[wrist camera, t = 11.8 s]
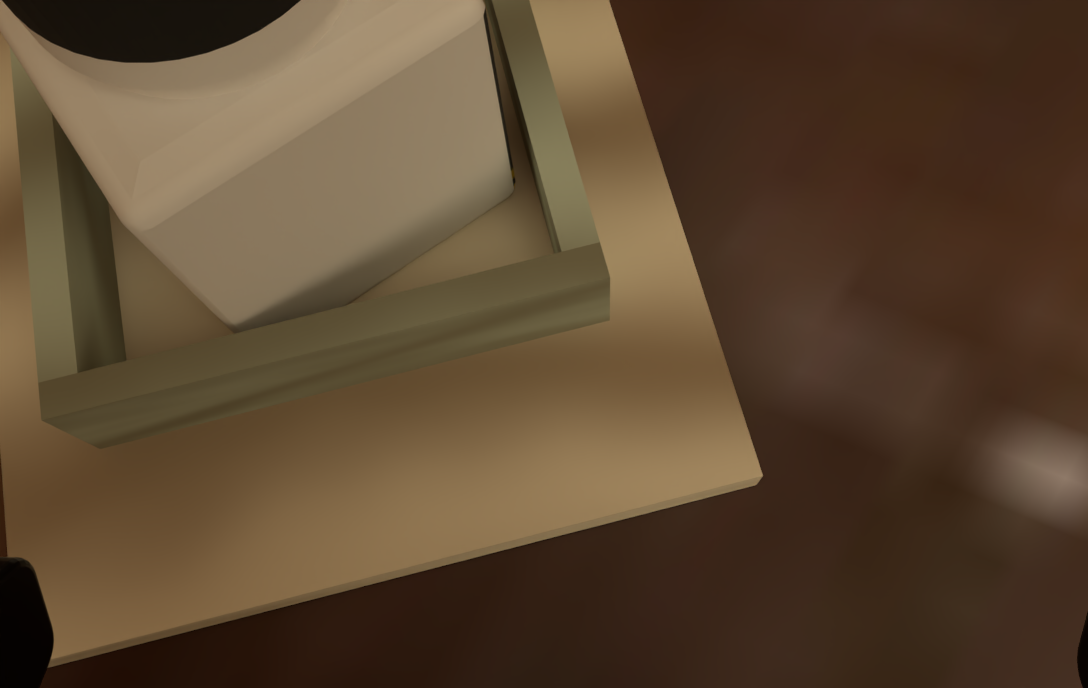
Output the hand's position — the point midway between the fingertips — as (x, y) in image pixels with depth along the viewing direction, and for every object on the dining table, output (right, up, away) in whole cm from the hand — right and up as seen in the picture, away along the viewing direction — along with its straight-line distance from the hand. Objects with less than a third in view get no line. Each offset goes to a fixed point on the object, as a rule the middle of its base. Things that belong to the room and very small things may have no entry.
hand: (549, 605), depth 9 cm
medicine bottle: (-6, +6, +16) cm, 18 cm away
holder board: (-6, +6, +17) cm, 19 cm away
